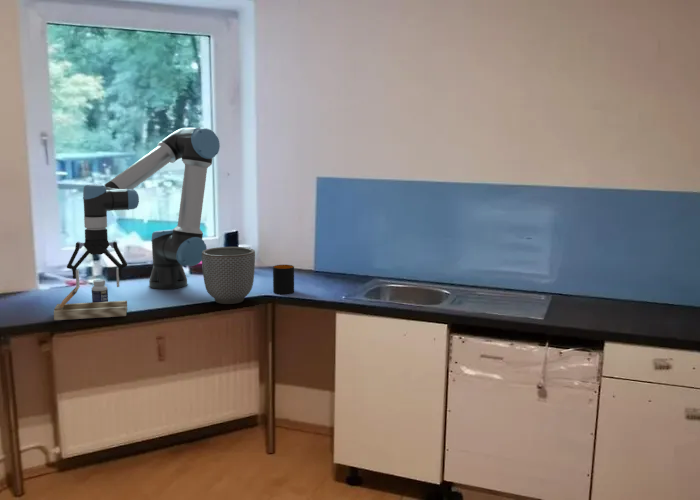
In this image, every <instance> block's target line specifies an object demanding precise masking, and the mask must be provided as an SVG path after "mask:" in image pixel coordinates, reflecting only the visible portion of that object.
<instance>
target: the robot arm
mask: <svg viewBox="0 0 700 500" xmlns="http://www.w3.org/2000/svg"><path fill="white" fill-rule="evenodd" d="M220 147H221V146H220V140H219V137H218V135H217V134H216V133H215V131H213V130H211V129H209V128H205V127H199V126H198V127H182V128H179V129H177V130H175V131H174V132H172V133H170V134H169V135H168V136H166V137H165V138H163V139H161V141H159V142H158V143H157V146H156V147H155V148H154V149H152V150H151V151H150V152H149V153H147V154H145V155H144V156H143V157H141V158H139V160H137V161H136V162H135V163H132V165H129V167H128V168H126V169H125V170H123V171H122V172H120V173H119V174H118V175H116V176H115V177H113V178H112V179H111V180H109V181H108V182H106V183H105V184H85V185H84V186H83V191H82V193H83V194H82V195H83V196H82V199H83V200H82V201H83V215H84V216H83V217H84V219H83V220H84V224H83V225H84V228H85V229H84V242H80V241H76V243H75V249H74V251H73V253H72V254H71V257H70V259H69V261H68V264H67V265H66V269H67V270H68V269H69V270H71V271H72V279H73V280H75V281H76V284H75V287H76V286H78V287H79V288H80V287H81V286H80V285H81V284H80V269H79V268H78V267H79V266H80V265H81V264H82V263H83V261H84V260H85V259H86V258H87V257H88V256H89V255H93V256H94V255H95V256H96V255H99V256H100V255H103V254H104V255H105V256H106V257H107V258H108V259H109V260H110V261H111V263H113V264H114V265H115V266H116V268H115V269H116V271H115V273H116V288H120V278H122V277H123V269H124V268H127V267H128V262H127V260H126V259H125V257H124V256H123V254H122V253H121V250H120V249H119V247H118V242H117V241H116V240H114V241H110V242H109V239H108V238H109V237H108V229H107V227H108V217H107V216H108V214H107V213H108V212H111V211H130V210H135V209H137V208H138V206H139V204H140V203H139V202H140V197H139V194H138V192H137V190H136V189H135V188H136V187H138V186H139V185H140V184H142V183H143V182H145V181H146V180H148V179H149V178H150V177H151V176H153V175H154V174H156V173H157V172H158V171H160V170H161V169H162V168H164V167H165V166H166V165H168V164H169V163H171V164H172V163H173V164H174V163H175V162H176V161H178V160H180V159H181V161H182V163H183V164H184V170H183V171H184V172H183V180H182V187H181V188H182V189H181V194H180V204H179V210H178V211H179V212H178V218H177V220H178V221H177V225H176V226H175V227H174V228H171V229H162V230H155V231H153V232H152V233H151V248H152V250H151V252H152V254H151V255H152V270H151V273H150V277H149V280H148V282H149V283H148V285H149V287H150V288H152V289H155V290H156V289H157V290H170V289H171V290H172V289H180V288H183V287H186V286H188V278H187V275H186V273H185V270H184V267H193V266H197V265H199V264H200V263H202V257H201V254H202V251H203V250H206V249H208V248H207V244H206V243H205V241H204V239H203V238H204V237H203V236H204V232H203V230H201V221H202V214H203V213H202V212H203V206H204V204H203V203H204V198H205V197H204V196H205V189H206V181H207V174H208V168H209V167H210V166H212V164H213V158H215V157H216V156H217V155H218V154H219V152H220ZM109 247H111V248H112V249H113V250H114V251H115V254H116V255H117V257H118V258H119V259H116V258H115V256H114V255H113V254H112V253H111V252H110V251H109V250H108V248H109ZM82 248H85V249H86V251H85V252H84V253H83V255H82V256H81V257H80V258H79V259H78V261H77V262H76V263H75V264H74V261H75V259H76V257H77V255H78V253H79V251H80V249H82ZM118 260H120V262H121V263H120V262H119V261H118Z"/></svg>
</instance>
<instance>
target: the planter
mask: <svg viewBox="0 0 700 500" xmlns="http://www.w3.org/2000/svg"><path fill="white" fill-rule="evenodd" d="M201 257H202V261H201V266H202V275H203V281H204V282H203V283H204V286H205V290H206V292H207V293H208V295H209V296H210V297H212V298H213V299H214V301H215V302H216V303H217V304H221V305H232V304H233V305H234V304H240V303H242V302H244V301H245V298H246V297H247V296H248V295H249V294H250V292H252V289H253V286H254V281H255V269H256V268H255V267H256V251H255V249H253V248H250V247H244V246H243V247H242V246H219V247H211V248H210V247H209V248H207V249H206V250H203V251H202V254H201Z"/></svg>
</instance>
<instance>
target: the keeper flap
mask: <svg viewBox="0 0 700 500" xmlns="http://www.w3.org/2000/svg"><path fill="white" fill-rule="evenodd" d="M79 288H80V287H78V286H76V285H75V287H74V288H73V290H71V291H70V292H69V293H68V294H67V296H65V298H63V299H62V301H61V303H59V304H60V307H61V308H62V307H63V306H64V305H65V304H68V302H69V301H70V300H71V299H72V298H73V297H74V296H75V295H76V294H77V292H78V290H79Z"/></svg>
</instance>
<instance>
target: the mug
mask: <svg viewBox="0 0 700 500" xmlns="http://www.w3.org/2000/svg"><path fill="white" fill-rule="evenodd" d="M272 283H273V284H272V292H273V294H275V295H279V294H280V295H281V296H282V295H292V294H294V293H295V266H294V265H291V264H277V265H276V264H275V265H274V266H272Z"/></svg>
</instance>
